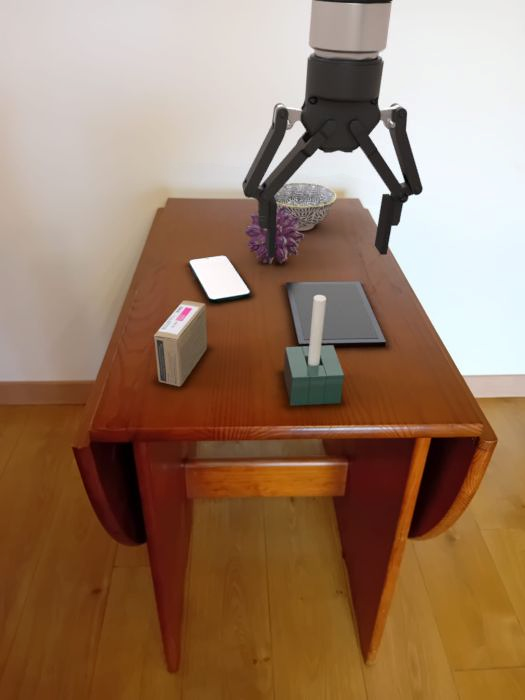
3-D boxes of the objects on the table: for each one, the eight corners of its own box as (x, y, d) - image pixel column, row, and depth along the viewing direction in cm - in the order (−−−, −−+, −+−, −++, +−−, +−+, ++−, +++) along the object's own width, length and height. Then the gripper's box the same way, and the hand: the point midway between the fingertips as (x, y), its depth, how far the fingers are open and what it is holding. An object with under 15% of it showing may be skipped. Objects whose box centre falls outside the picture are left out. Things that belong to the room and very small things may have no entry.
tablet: (385, 346, 86) (386, 341, 85) (298, 348, 85) (298, 343, 85) (358, 286, 102) (359, 281, 102) (285, 286, 101) (285, 281, 101)
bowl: (256, 233, 121) (256, 200, 117) (275, 208, 134) (276, 178, 129) (325, 243, 118) (329, 210, 113) (339, 217, 130) (342, 186, 126)
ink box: (186, 344, 85) (183, 298, 81) (209, 349, 85) (207, 302, 80) (156, 382, 78) (151, 334, 73) (181, 388, 77) (177, 339, 72)
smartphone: (251, 297, 98) (225, 258, 110) (252, 293, 97) (225, 254, 109) (209, 304, 96) (187, 264, 108) (209, 300, 95) (187, 260, 107)
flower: (243, 257, 114) (295, 240, 116) (261, 282, 105) (317, 262, 107) (231, 206, 107) (286, 189, 109) (249, 227, 98) (309, 208, 100)
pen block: (340, 403, 75) (344, 375, 72) (290, 405, 74) (292, 377, 71) (330, 372, 80) (333, 344, 78) (283, 374, 80) (285, 346, 77)
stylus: (318, 388, 77) (328, 298, 68) (311, 393, 76) (320, 302, 68) (311, 383, 78) (319, 293, 69) (303, 387, 77) (311, 297, 69)
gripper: (452, 49, 57) (414, 236, 70) (217, 46, 55) (221, 240, 67) (483, 60, 51) (436, 262, 64) (220, 56, 49) (224, 268, 61)
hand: (326, 251), depth 65 cm, fingers open, 13 cm apart
